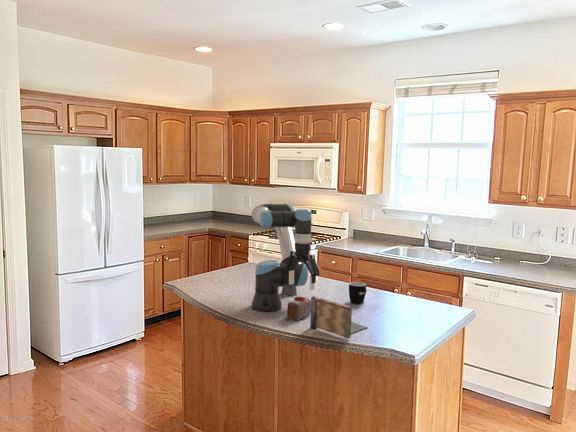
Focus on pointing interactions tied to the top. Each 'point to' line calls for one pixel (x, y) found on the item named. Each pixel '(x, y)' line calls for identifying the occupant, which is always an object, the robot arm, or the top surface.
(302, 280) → the robot arm
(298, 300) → the food item
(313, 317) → the gate post
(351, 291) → the mug
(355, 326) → the mat
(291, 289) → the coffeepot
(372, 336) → the top surface
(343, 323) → the gate
